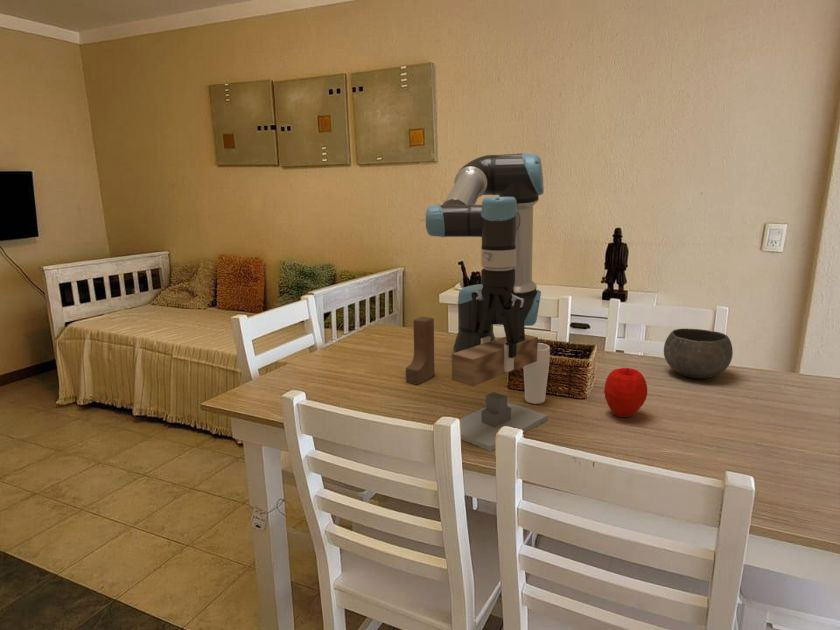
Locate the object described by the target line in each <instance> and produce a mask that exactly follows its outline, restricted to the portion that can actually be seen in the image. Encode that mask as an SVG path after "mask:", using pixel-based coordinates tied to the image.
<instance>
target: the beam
mask: <svg viewBox="0 0 840 630" xmlns="http://www.w3.org/2000/svg"><path fill="white" fill-rule="evenodd" d="M495 339H496V338H495ZM538 340H539V339H538V336H534V335H529V334H525V340H524V341H522V342H520V343H517V352H516V353H517V355H516V357H514V370H511V371H509V372H504V344H505V343H507V339H506V336H503V337H500V338H498V339H496V340H493V341H490V342H487V343H484V344H481V345H478V346H475V347H472V348H468V349H465V350H462V351H459V352H456V353H451V380H452V381H454V382H457V383H460V384H464V385H467V386H470V387H476V386H478V385H480V384H483V383H485V382H487V381H490V380H492V379H495V378H498V377H501V376H503V375H506V374H508V373H510V372H513V371H516V370H518V369H521V368H523V366H526V365H528V364H531V363H533V362H536V361H537V347H538V343H539V342H538Z"/></svg>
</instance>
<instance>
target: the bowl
mask: <svg viewBox="0 0 840 630" xmlns="http://www.w3.org/2000/svg"><path fill="white" fill-rule="evenodd" d="M733 351H734V350H733V344H732V341H731V339H730V337H729V336H728V335H727V334H726V333H724V332H719V331H713V330H707V329H699V328H677V329H674V330H672V331H671V332H670V333H669V335H667V337H666V340H665V342H664V346H663V356H664V359H665V361H666V363H667V365H668V366H669V367H670V368H672V369H673V370H674V371H675V372H677V373H678V374H680V375H682V376H684V377H686V378H690V379H697V380H698V379H699V380H700V379H708V378H712V377H715V376H718V375H720V374H721V373H723V372H724V371H725V370H726V369H728V367H730V364H731V362H732V359H733Z"/></svg>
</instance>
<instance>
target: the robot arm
mask: <svg viewBox="0 0 840 630" xmlns="http://www.w3.org/2000/svg"><path fill="white" fill-rule="evenodd" d="M544 188H545V187H544V176H543V166H542V161H541V158H540V156H539V155H538V154H535V153H508V154H507V153H506V154H488V155H487V154H486V155H483V156H479V157H477V158H475V159H473V160H471V161H469V162H468V163H466V164H465V165H463V166H462V167H461V168H460V169H459V170H458V171H457V173H456V175H455V176H454V185H453V187H452V188H451V190H450V192H449V193H448V195H447V197H446V198H445V200H444V201H443V203H442V204H437V205H436V204H433V205H429V206H428V207H427V208H426V211H425V212H426V213H425V228H426V229H425V230H426V232H427V234H428V236H431V237H441V238H457V237H458V238H461V237H462V238H463V237H464V238H466V237H467V238H468V237H469V238H470V237H473V238H475V237H477V238H481V252H480V253H481V259H480V261H481V263H480V264H481V267H482V269H481V271H480V284H479V283H478V284H472V285H468V286H465V287H462V288H461V289H459V290H458V291H459V292H458V299H457V305H458V306H457V311H458V312H457V314H458V318H457V319H458V321H457V323H458V325H457V326H458V332H457V335H456V338H455V341H454V345H453V347H452V350H453V351H452V352H453V353H456V352H459V351H462V350H465V349H468V348H472V347H475V346H478V345H481V344H484V343H487V342H490V341H493V340H496V336H495V333H494V325H496V326H497V325H500V326H503V329H504V334H505V337H506V339H507V343H505V344H504V372H508V373H510V372H509V371H511V370H513V371H515V370H514V357H516V355H517V353H516V352H517V343H520V342H522V341H524V340H525V335H526V334H525V333H526V331H525V328H526V327H527V326H528V327H529V326H530V327H531V326H534V325H535V324H536V323H537V321H538V313H539V308H540V301H541V298H542V297H541V295H542V292H541V290H539V289H537V286H538V285H537V283H535V282H534V281H533V237H534V236H533V234H534V232H533V231H534V206H535V205H536V204H537V203H538V202H539V199H540V198H539V196H541V195H544V192H545V191H544ZM482 196H487V197H484V198H483V199H482V202H481V204H476V203H477V201H478V199H479V198H480V197H482ZM525 326H526V327H525ZM453 353H452V354H453ZM511 372H512V371H511Z"/></svg>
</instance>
